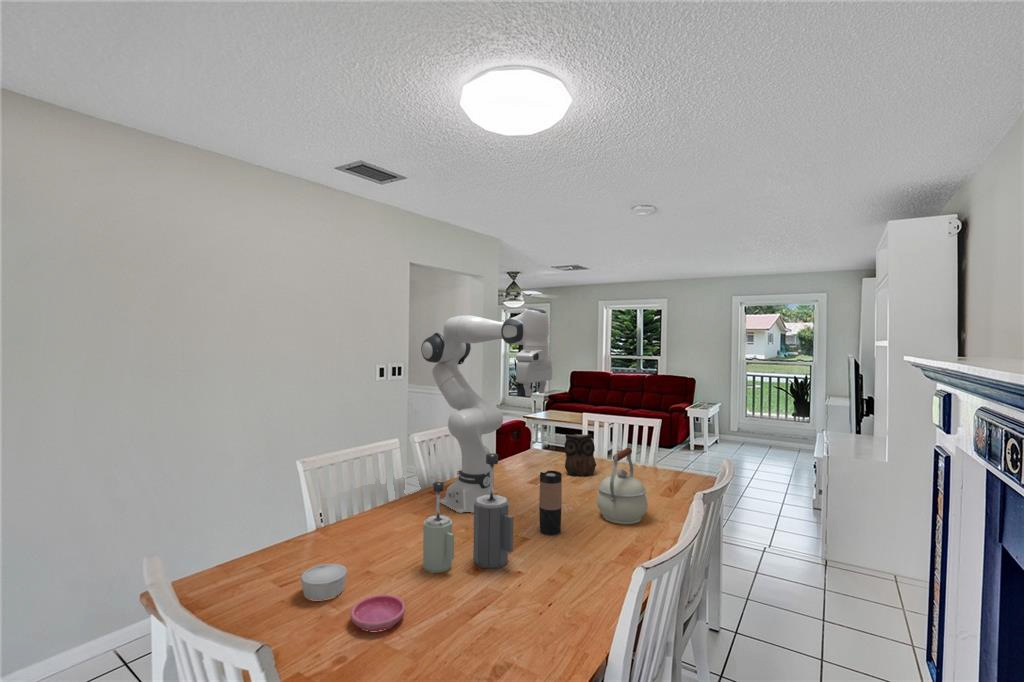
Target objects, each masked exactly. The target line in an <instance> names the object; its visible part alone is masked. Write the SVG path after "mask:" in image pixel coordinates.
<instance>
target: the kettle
mask: <svg viewBox="0 0 1024 682" xmlns="http://www.w3.org/2000/svg"><path fill="white" fill-rule="evenodd" d="M632 453H633V451H632V449H631V447H626V448H625V449H622V450H620V451H619V452H617V453H615V454H613V456H612V459H613V467H612V471H611V474H610V475H609V476H607V477H605V478H604V479H603V480H602V481H601V483H600V484H599V485H598V487H597V489H598V493H597V498H596V504H597V508H598V509H599V511H600V512H601V514H602V517H603V518H605V520H606V521H608V522H611V523H614V524H617V523H618V524H619V525H635V524H637V523H639V522H640V521H641V520H642V517H643V516H644V514H645V513H646V512H647V510H648V500H647V496H646V494H647V489H646V487H644V484H643V483H642V482H641V481H640V480H639V479H637V478H635V477H634V465H633V461H632V457H631V455H632ZM625 458H627V462H628V465H629V473H628V472H627V471H626V470H625V469H620V470H618V471H617V469H618V466H619V465H618V463H619V461H620V460H622V459H625ZM628 474H629V475H628ZM618 524H617V525H618Z"/></svg>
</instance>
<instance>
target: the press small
mask: <svg viewBox="0 0 1024 682" xmlns="http://www.w3.org/2000/svg"><path fill="white" fill-rule="evenodd" d="M422 529H423V535H422V537H423V539H422V540H423V543H422V544H423V545H422V547H423V548H422V549H423V550H422V552H423V553H422V558H423V559H422V566H423V569H424V571H425V570H426V571H425V572H427V571H429V572H428V573H430V572H433V573H432V574H441V573H440V572H442V573H445V572H444V571H446V572H448V571H449V570H450V569H451V568H452V562H453V560H454V559H455V533H453V519H452V518H450V517H449V516H447V515H443V514H440V518H436V515H432V516H428V517H426V519H424V521H423V528H422ZM447 570H448V571H447Z"/></svg>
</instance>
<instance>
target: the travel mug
mask: <svg viewBox="0 0 1024 682" xmlns="http://www.w3.org/2000/svg"><path fill="white" fill-rule="evenodd" d="M562 476H563V475H562V472H560V471H557V470H547V471H545V472H543V471H540V473H539V495H538V496H539V498H538V499H539V501H538V502H539V504H538V507H539V509H538V510H539V516H538V517H539V518H538V519H539V532H540V533H541V534H543V535H545V536H557V535H559V534H560V533H561V528H562V524H561V523H562V507H563V506H562V502H563V501H562V499H563V497H562V496H563V495H562V485H563V484H562V483H563V481H562Z"/></svg>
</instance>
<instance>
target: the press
mask: <svg viewBox="0 0 1024 682" xmlns="http://www.w3.org/2000/svg"><path fill="white" fill-rule="evenodd" d="M509 510H510V501H509V500H508V499H507V497H505V496H501V495H499V494H494V499H493V500H490V495H484V496H481V497H478V498H477V500H475V502H474V513H473V546H472V547H473V548H472V549H473V553H472V556H473V563H474V564H475V566H477V567H478V568H481V569H488V570H492V569H494V570H495V569H500V568H502V567H504V566H506V565H507V564H508V562H509V561H508V559H509V553H510V554H511V553H512V552H514V516H511V515H509V513H510V511H509Z"/></svg>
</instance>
